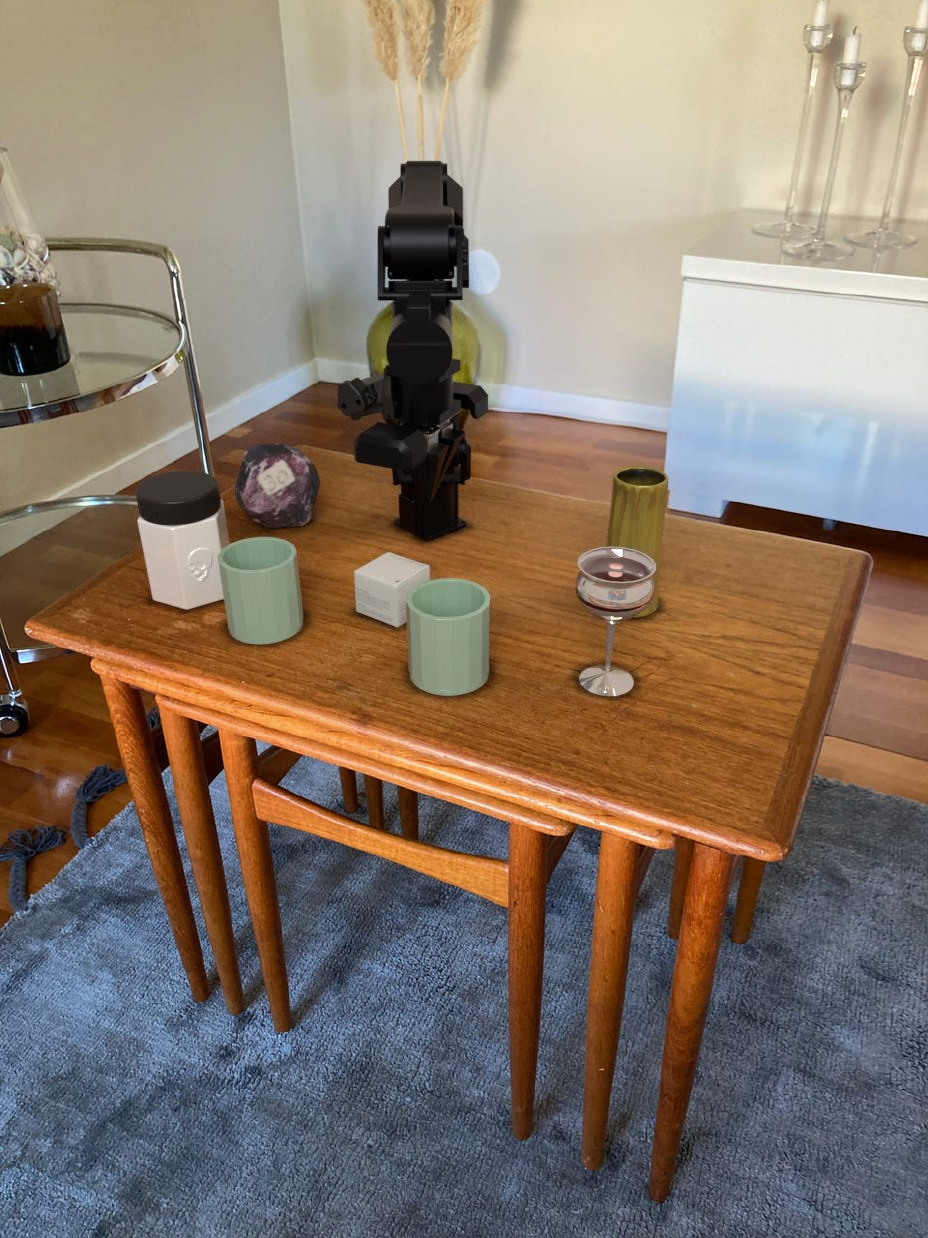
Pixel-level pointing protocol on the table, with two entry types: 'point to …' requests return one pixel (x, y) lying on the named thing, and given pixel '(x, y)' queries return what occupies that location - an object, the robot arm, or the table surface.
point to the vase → (639, 516)
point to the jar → (182, 537)
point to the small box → (387, 587)
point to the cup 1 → (261, 589)
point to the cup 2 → (448, 636)
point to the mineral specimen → (277, 486)
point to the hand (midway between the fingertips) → (426, 500)
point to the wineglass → (613, 605)
